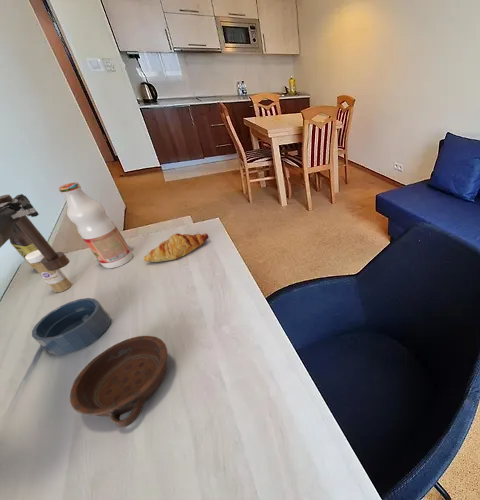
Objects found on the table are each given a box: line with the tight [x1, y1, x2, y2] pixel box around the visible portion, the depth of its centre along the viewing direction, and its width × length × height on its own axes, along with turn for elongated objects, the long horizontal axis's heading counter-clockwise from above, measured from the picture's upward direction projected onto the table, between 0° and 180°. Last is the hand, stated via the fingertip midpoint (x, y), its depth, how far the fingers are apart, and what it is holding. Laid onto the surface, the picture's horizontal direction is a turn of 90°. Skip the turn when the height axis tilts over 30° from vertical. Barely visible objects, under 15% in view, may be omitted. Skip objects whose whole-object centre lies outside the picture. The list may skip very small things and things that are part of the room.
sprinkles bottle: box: [24, 250, 73, 293], centre depth 91 cm, size 5×5×13 cm
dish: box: [69, 335, 168, 428], centre depth 63 cm, size 18×22×5 cm
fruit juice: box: [58, 181, 134, 269], centre depth 97 cm, size 9×9×28 cm
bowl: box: [31, 297, 111, 356], centre depth 76 cm, size 14×14×6 cm
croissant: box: [143, 232, 209, 263], centre depth 104 cm, size 21×10×8 cm, turn 125°
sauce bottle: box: [8, 223, 38, 271], centre depth 100 cm, size 6×6×20 cm
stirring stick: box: [0, 194, 70, 271], centre depth 67 cm, size 4×4×18 cm
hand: (15, 200), depth 66 cm, fingers closed on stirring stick, 2 cm apart
